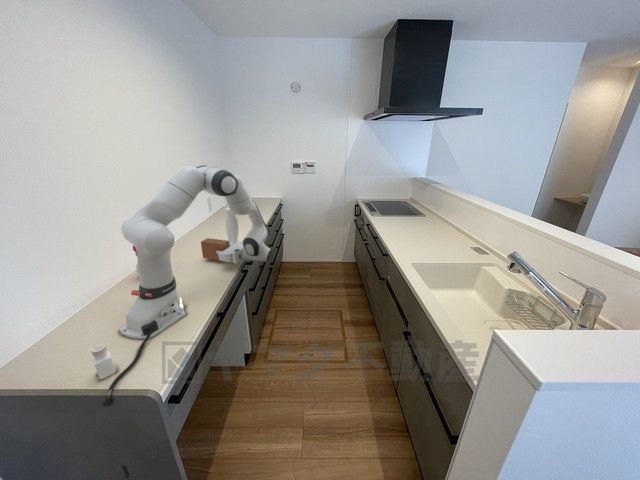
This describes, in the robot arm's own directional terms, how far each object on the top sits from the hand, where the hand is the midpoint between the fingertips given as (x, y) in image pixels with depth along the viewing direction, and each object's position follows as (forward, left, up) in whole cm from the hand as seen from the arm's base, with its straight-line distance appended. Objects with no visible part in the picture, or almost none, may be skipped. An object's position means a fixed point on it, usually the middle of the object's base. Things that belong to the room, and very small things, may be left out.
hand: (220, 249), depth 148 cm
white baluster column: (+21, +5, -8) cm, 23 cm away
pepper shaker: (-77, -10, -8) cm, 78 cm away
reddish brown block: (0, +3, -6) cm, 6 cm away
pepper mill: (-26, +26, -8) cm, 37 cm away
